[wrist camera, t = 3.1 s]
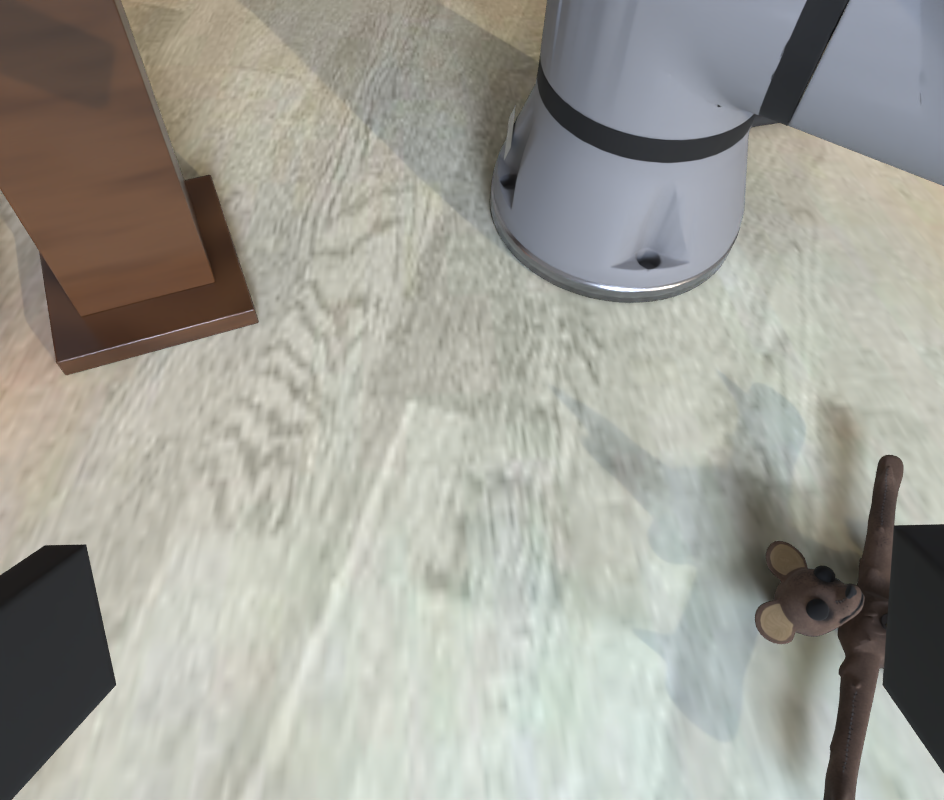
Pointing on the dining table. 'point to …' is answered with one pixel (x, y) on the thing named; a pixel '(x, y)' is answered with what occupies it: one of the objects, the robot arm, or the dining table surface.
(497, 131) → the dining table surface
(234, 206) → the dining table surface
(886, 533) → the bear figurine
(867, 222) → the dining table surface
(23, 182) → the stand
